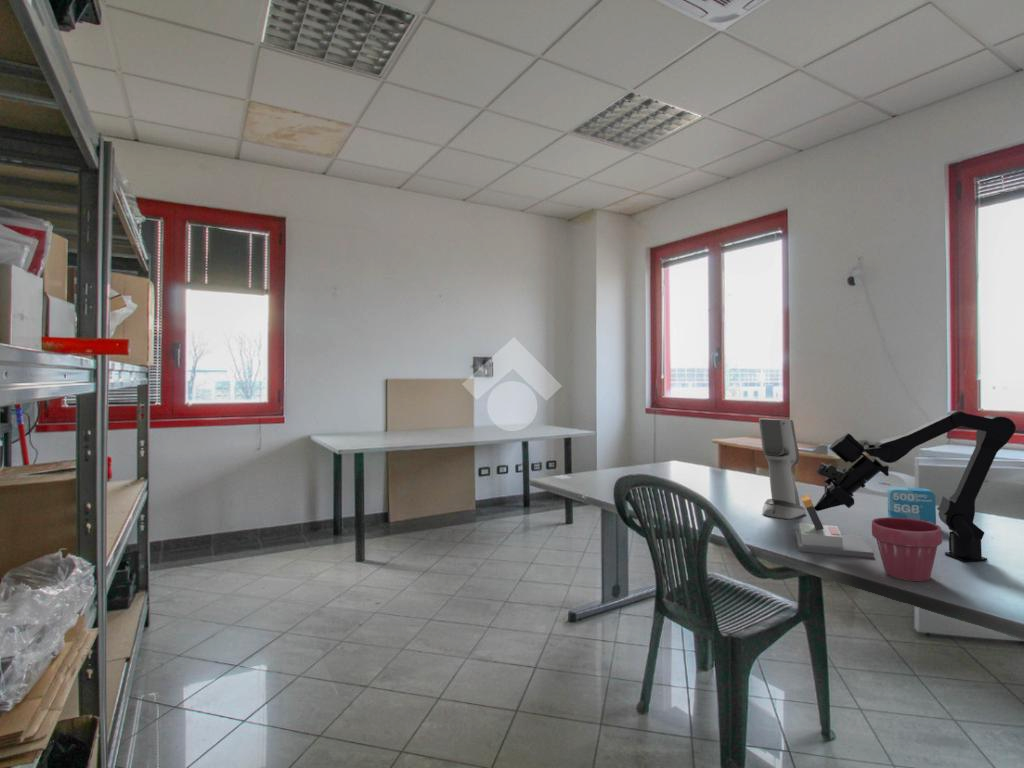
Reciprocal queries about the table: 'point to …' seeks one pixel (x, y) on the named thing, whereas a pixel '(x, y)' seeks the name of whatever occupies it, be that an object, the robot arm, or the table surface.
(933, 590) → the table surface
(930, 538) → the plant pot
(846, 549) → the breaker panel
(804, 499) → the lever
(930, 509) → the data package
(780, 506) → the handheld scanner
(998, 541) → the table surface
